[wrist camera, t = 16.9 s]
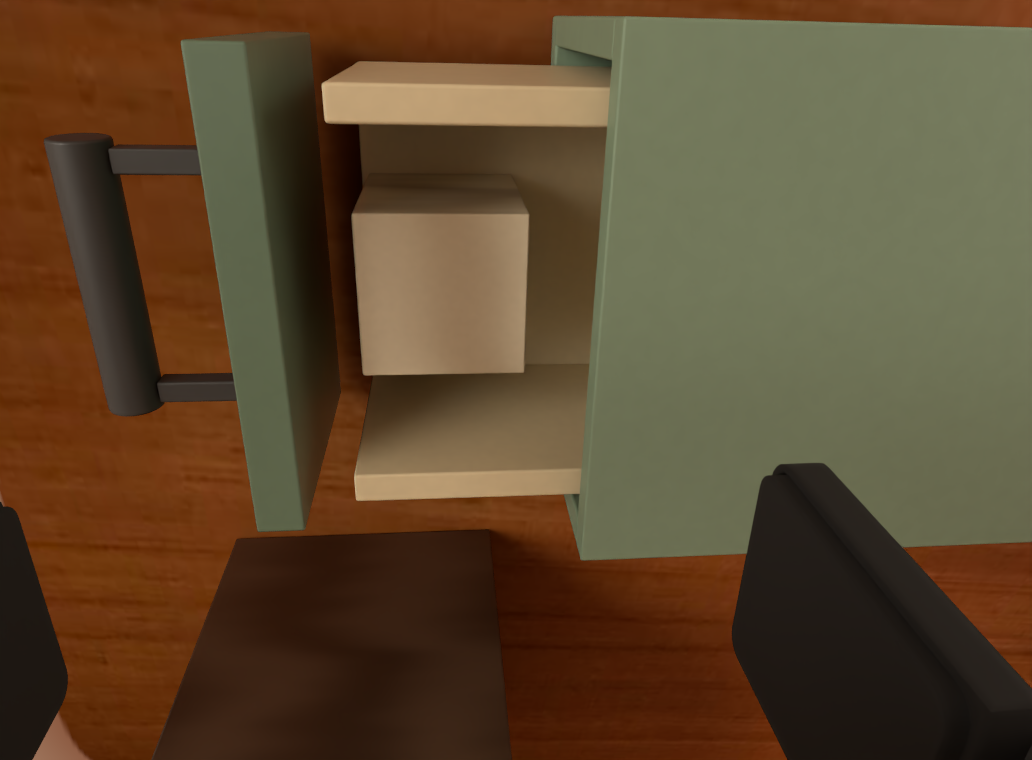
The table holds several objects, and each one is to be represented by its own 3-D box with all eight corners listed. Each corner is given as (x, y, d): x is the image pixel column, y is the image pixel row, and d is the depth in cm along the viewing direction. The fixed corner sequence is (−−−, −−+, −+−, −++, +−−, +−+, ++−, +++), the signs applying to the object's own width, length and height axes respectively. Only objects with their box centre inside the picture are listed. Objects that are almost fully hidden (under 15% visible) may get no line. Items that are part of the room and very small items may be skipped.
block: (376, 307, 24) (362, 376, 19) (368, 172, 22) (350, 213, 17) (508, 306, 24) (524, 373, 20) (511, 173, 22) (530, 213, 18)
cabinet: (536, 392, 28) (580, 561, 19) (552, 15, 22) (623, 16, 14) (907, 384, 29) (1104, 540, 20) (1009, 28, 24) (1335, 36, 15)
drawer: (180, 395, 25) (83, 539, 18) (109, 27, 20) (-62, 33, 14) (684, 386, 27) (769, 514, 20) (731, 43, 22) (866, 56, 15)
